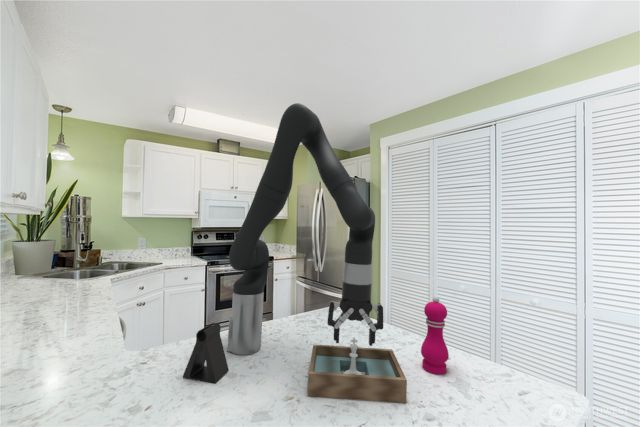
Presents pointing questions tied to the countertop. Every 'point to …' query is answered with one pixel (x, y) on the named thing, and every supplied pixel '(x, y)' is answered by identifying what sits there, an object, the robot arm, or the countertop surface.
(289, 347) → the countertop surface
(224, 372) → the phone stand
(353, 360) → the chess piece
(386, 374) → the box
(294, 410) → the countertop surface
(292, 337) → the countertop surface
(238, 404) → the countertop surface
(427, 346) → the pepper mill
